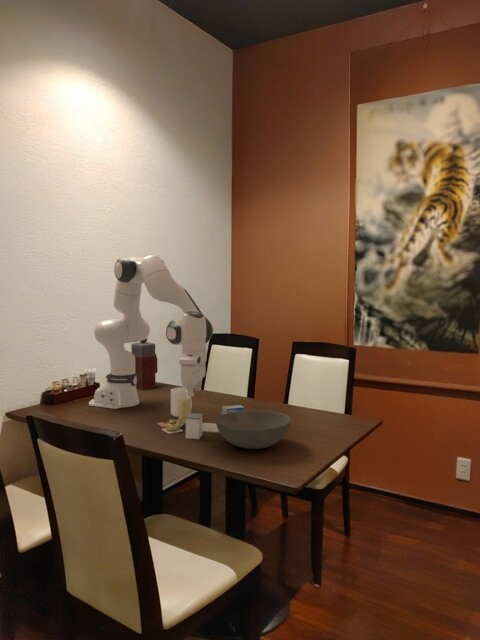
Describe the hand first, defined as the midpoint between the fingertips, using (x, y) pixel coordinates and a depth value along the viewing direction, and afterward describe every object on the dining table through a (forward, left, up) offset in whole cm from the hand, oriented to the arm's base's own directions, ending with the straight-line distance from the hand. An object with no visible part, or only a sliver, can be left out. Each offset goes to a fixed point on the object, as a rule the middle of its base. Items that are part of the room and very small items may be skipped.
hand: (194, 393), depth 190 cm
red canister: (-46, +72, -16) cm, 87 cm away
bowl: (+23, -5, -17) cm, 29 cm away
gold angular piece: (-9, +9, -16) cm, 20 cm away
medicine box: (+12, +12, -16) cm, 23 cm away
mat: (+3, +11, -16) cm, 20 cm away
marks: (-12, +9, -16) cm, 22 cm away
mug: (-12, +26, -17) cm, 33 cm away
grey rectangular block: (0, 0, -16) cm, 16 cm away
